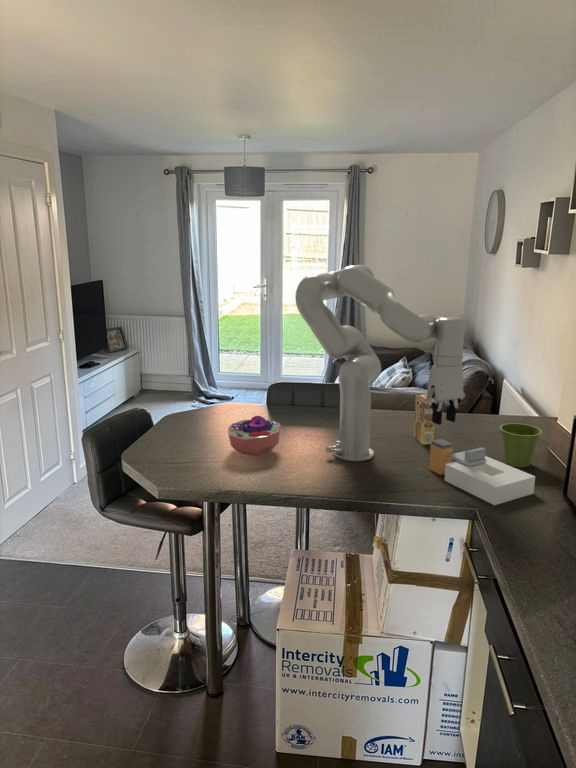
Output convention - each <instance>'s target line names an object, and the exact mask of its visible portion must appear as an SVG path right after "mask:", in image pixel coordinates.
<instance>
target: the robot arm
mask: <svg viewBox="0 0 576 768" xmlns="http://www.w3.org/2000/svg"><path fill="white" fill-rule="evenodd" d="M294 297H295V298H294V299H295V305H296V308H297V310H298V312H299V314H300V315H301V317H302V318H303V320H304V322H305V323H306V325H307V326H308V327H309V330H310V331H312V333H313V335H314V336H315V338H316V339H317V341H318V343H320V345H321V347H322V349H323V350H324V352H325V353H326V354H327V355H328V356H329V358H331V359H335V360H338V359H339V360H340V359H342V358H344V360H345V362H343V363H342V365H341V366H340V368H339V371H338V386H339V393H340V394H339V395H340V398H339V399H340V400H339V402H340V403H339V433H338V434H339V436H338V437H339V438H338V439H339V440H336V443H335V444H333V445H329V446H326V447H325V451H326V453H333V455H334V456H335V457H336V458H338V459H340V460H343V461H349V462H363V461H369V460H371V459H372V458H373V457H374V453H375V451H374V450H373V449H372V448H370V437H371V435H370V431H371V411H372V409H371V408H372V406H371V405H372V397H371V390H370V388H371V387H370V384H371V383H372V382H374V381H375V380H376V379H378V378H379V376H380V374H381V372H382V364H381V362H380V359H379V357H378V356H377V354H376V353H375V351H374V350H373V348H372V346H371V345H370V344H369V342H368V341H367V339H366V338H365V336H364V335H363V334H362V332H361V331H360V330H359V329H357V328H356V327H355V326H352V325H342V324H341V322H340V321H339V320H338V319H337V317H336V315H335V314H334V313H333V311H332V310H331V309H330V308H329V307H328V306H327V305H326V304H325V302H324V301H326V300H332V299H337V298H341V297H350V298H352V299H354V300H355V301H357V302H358V303H360V304H361V305H362V306H364V307H365V308H367V309H368V310H370V311H371V312H373V313H374V314H375V315H376V316H377V317H378V319H380V321H381V322H382V323H383V324H384V325H385V326H386V328H387V327H388V329H390V330H391V331H393V332H394V333H395V334H396V335H398V336H400V337H401V338H403V339H404V340H406V341H407V342H409V343H411V344H416V345H419V344H421V345H422V344H424V343H426V342H429V341H431V340H435V346H434V347H435V348H434V349H435V350H434V363H433V365H431V368H430V372H429V376H428V382H427V389H426V390H427V391H426V395H427V397H426V399H425V402H426V403H427V404H429V406H430V407H431V409H432V410H433V414H432V422H433V423H434V425H435V424H436V425H439V426H441V425H442V421H443V420H442V418H443V411H441V410H442V407H443V406H442V405H443V402H447V403H448V405H446V411H445V412H446V413H445V420H446V421H449V422H452V423H455V422H456V418H457V417H456V415H457V414H456V413H457V409H458V408H459V405H460V404H461V402H462V400H463V399H465V397H466V394H465V392H464V367H463V365H462V364H463V359H464V356H463V355H464V354H463V353H464V339H465V329H466V322H465V319H463V318H462V317H460V316H459V317H457V316H441V315H435V314H430V313H424V314H420V315H417V314H415V313H414V312H413V311H411V310H409V309H408V308H407V307H406V306H404V305H403V304H402V303H400V301H399V300H398V298H397V297H396V295H395V291H394V289H393V288H391V287H390V286H388V285H386V283H383V282H382V281H381V280H379V279H377V277H375V274H374V272H373V270H371V267H369V266H366V265H364V264H355V265H354V264H353V265H352V264H351V265H347V266H345V267H343V268H342V269H339V270H334V271H328V272H319V273H312V274H309V275H307V276H305V277H303V278H302V279H301V280H300V282H299V283H298V285H297V288H296V291H295V296H294ZM432 399H433V401H432Z"/></svg>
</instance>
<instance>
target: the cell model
mask: <svg viewBox="0 0 576 768" xmlns="http://www.w3.org/2000/svg"><path fill="white" fill-rule="evenodd" d="M280 432H281V423H280V422H278V421H274V420H270V419H269V420H268V419H266V418H265V417H263V416H261V415H255V416H252V417H251V419H244V420H239V421H238V422H234V423H231V424H230V425H229V427H228V429H227V433H228V435H227V436H228V439H229V442H230V446H231V447H232V449H233V450H235V451H237V452H238V453H240V454H241V455H245V456H254V457H256V456H257V457H259V456H262V455H263V454H266V453H267V452H268V453H269V452H270V451H272V450H273V449H274V448H275V447H277V445H279V441H280V434H281V433H280Z"/></svg>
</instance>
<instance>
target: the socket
mask: <svg viewBox="0 0 576 768" xmlns="http://www.w3.org/2000/svg"><path fill="white" fill-rule="evenodd" d="M485 459H487V462H484V463H480V464H476V465H472V466H467V465H465V464H463V463H461V462H458V461H454V462H453V461H452V463H448V464H446V466H445V474H444V481H445V482H447V483H448V484H451V485H453V486H454V487H457V488H458V489H461V490H463V491H465V492H467V493H468V494H471V495H473V496H475V497H477V498H479V499H481V500H483V501H485V502H487V503H489V504H491V505H493V506H496V505H499V504H503V503H506V502H511V501H513V500H517V499H520V498H524V497H527V496H531V495H533V494H535V493H534V492H535V482H536V476H535V475H533V474H531V473H528V472H526V471H523V470H520V469H519V468H517V467H513V466H510V465H509V464H506V463H505V462H501V461H499V460H496V459H494V458H491V457H489V456H486V455H485Z"/></svg>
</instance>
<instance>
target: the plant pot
mask: <svg viewBox="0 0 576 768" xmlns="http://www.w3.org/2000/svg"><path fill="white" fill-rule="evenodd" d="M499 429H500V431H501V436H502V440H503V441H502V442H503V456H504V464H506V465H509V466H511V467H514V468H518V469H520V468H525V467H526V468H528V467H530V466H531V462H532V460H533V455H534V453H535V448H536V445H537V442H538V441H539V439H540V435H542V434H543V431H542V429H541V428H539V427H537V426H534V425H531V424H526V423H517V422H511V423H504V424H501V425H500V426H499Z"/></svg>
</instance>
